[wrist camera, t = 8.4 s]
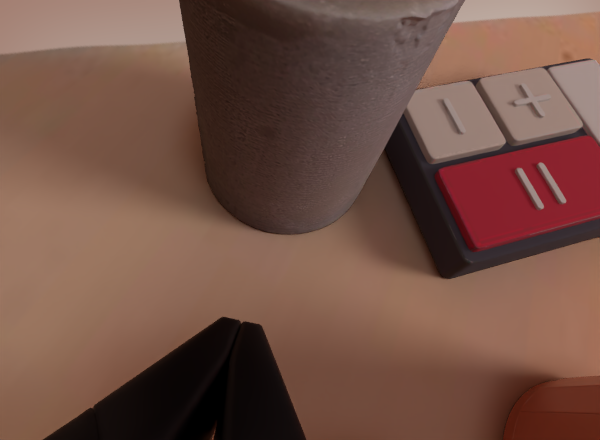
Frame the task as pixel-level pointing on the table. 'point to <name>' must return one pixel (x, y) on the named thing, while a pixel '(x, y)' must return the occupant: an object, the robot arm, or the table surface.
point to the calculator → (502, 164)
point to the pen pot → (557, 411)
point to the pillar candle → (303, 97)
